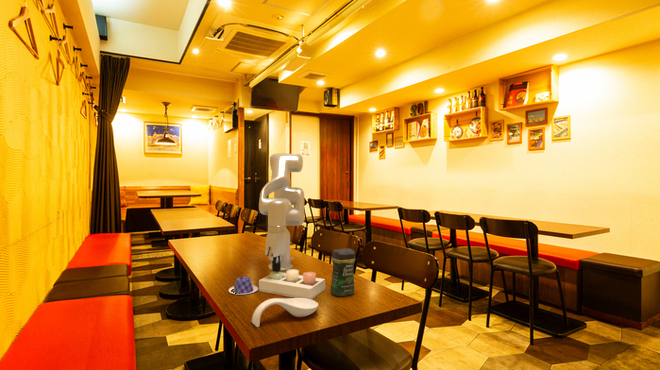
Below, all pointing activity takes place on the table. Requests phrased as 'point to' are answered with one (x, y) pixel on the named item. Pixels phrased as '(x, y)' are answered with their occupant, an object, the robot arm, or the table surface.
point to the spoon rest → (287, 307)
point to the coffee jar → (343, 272)
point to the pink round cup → (309, 278)
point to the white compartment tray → (291, 287)
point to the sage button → (276, 275)
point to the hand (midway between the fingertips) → (276, 271)
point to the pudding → (243, 286)
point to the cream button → (292, 275)
